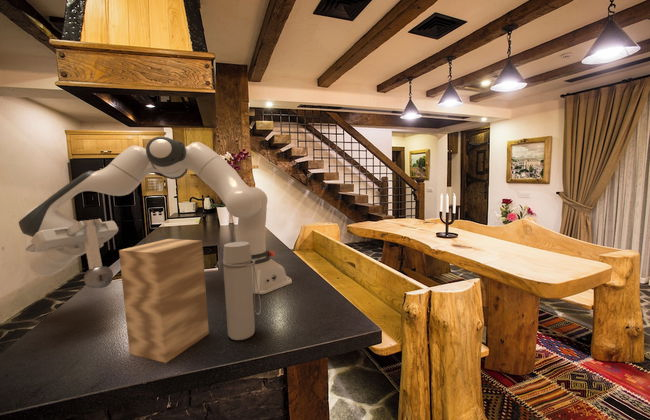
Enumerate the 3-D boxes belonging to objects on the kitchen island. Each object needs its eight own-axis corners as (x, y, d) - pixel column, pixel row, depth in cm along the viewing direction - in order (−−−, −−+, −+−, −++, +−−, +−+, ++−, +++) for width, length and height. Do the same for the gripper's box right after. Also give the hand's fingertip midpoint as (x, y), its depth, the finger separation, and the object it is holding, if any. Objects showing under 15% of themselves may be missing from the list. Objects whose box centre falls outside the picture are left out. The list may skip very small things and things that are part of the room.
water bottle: (229, 345, 77) (223, 248, 75) (226, 331, 84) (220, 243, 82) (265, 336, 81) (260, 244, 78) (259, 324, 88) (254, 239, 85)
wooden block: (129, 353, 75) (119, 250, 72) (175, 327, 88) (168, 238, 85) (166, 363, 70) (156, 253, 68) (208, 333, 83) (202, 240, 81)
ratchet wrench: (73, 222, 83) (83, 220, 82) (96, 219, 89) (105, 217, 87) (86, 291, 84) (95, 291, 83) (107, 283, 90) (117, 283, 88)
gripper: (18, 242, 81) (41, 217, 76) (98, 229, 100) (122, 208, 95) (27, 263, 80) (52, 239, 75) (106, 246, 99) (130, 226, 94)
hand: (91, 222), depth 85 cm, fingers closed on ratchet wrench, 2 cm apart
